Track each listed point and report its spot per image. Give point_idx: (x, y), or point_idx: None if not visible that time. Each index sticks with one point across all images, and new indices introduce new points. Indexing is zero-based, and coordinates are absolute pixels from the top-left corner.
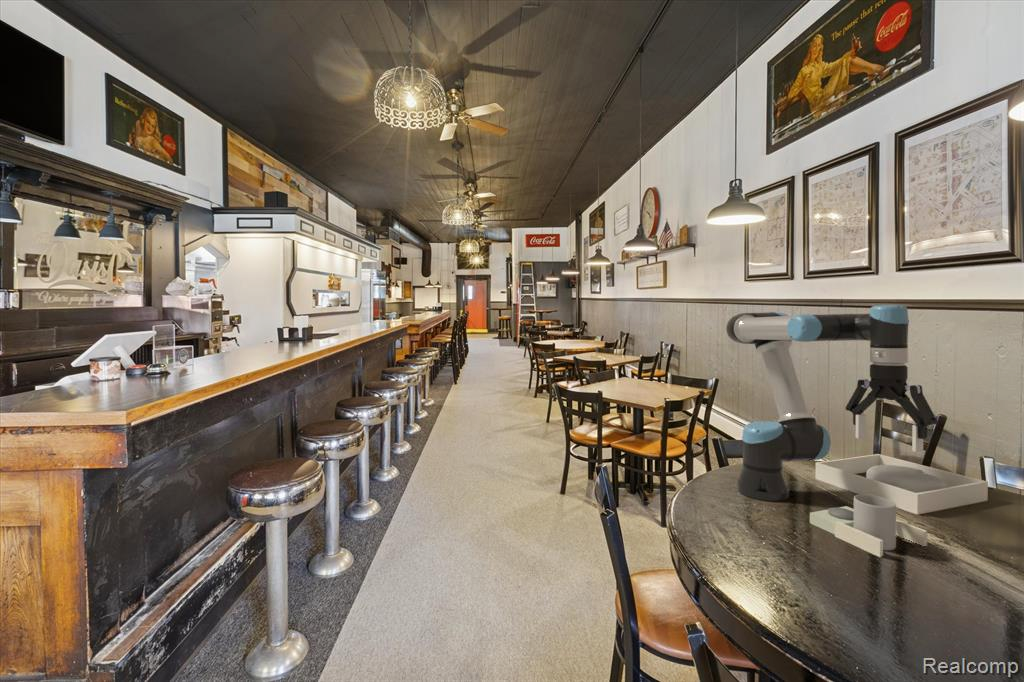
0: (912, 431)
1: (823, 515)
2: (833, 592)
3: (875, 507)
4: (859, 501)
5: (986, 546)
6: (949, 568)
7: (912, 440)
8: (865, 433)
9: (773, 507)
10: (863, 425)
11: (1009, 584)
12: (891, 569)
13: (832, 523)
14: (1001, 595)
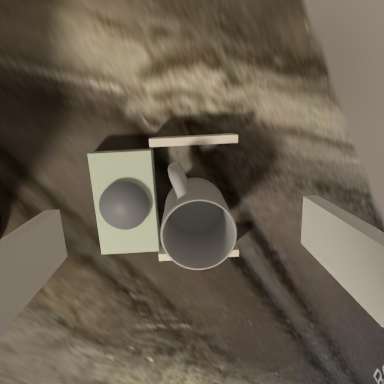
0: (353, 296)
1: (118, 240)
2: (273, 367)
3: (222, 261)
4: (192, 269)
5: (267, 18)
6: (289, 177)
7: (325, 267)
8: (48, 217)
9: None
10: (25, 254)
11: (347, 143)
12: (262, 260)
13: (149, 251)
14: (355, 188)
